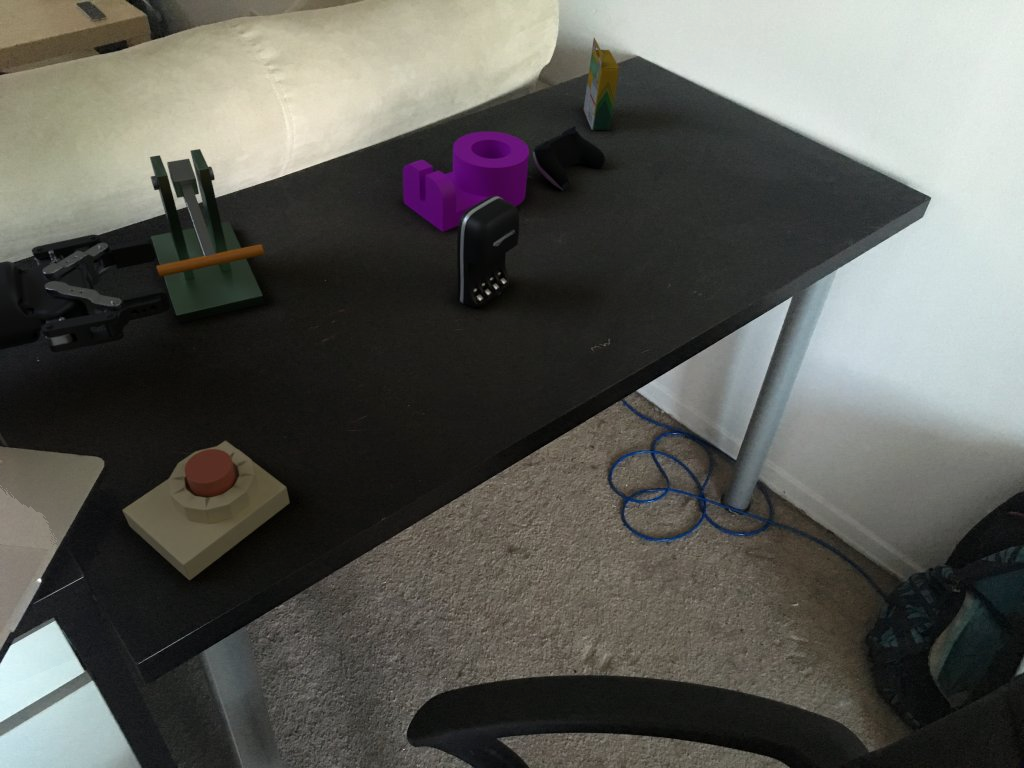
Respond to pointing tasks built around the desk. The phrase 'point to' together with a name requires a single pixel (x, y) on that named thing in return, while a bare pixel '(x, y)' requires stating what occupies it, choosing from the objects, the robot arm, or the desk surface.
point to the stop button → (210, 472)
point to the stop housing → (205, 513)
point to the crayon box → (600, 88)
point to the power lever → (199, 225)
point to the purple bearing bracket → (468, 178)
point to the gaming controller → (565, 156)
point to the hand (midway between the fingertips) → (160, 273)
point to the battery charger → (485, 250)
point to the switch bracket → (201, 254)
